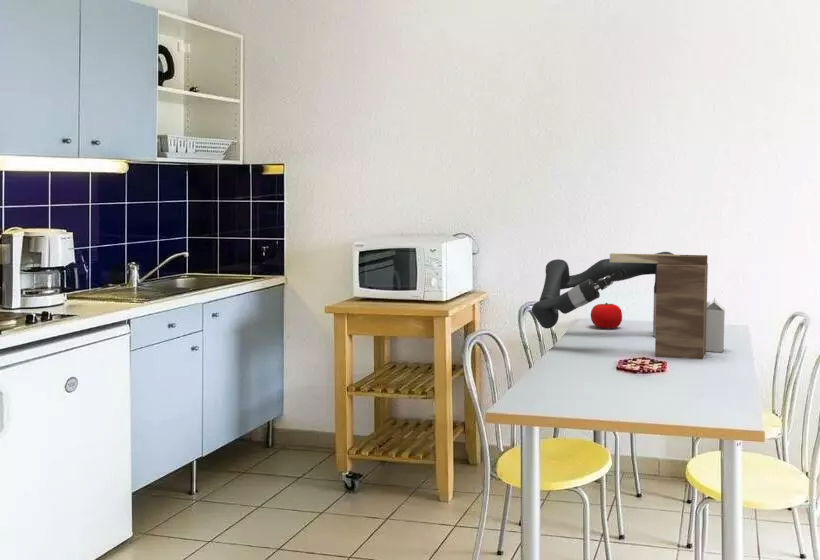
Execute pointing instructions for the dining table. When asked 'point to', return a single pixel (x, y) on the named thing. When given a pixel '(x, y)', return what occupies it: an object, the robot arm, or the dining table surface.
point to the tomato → (606, 315)
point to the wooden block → (636, 258)
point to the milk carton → (715, 327)
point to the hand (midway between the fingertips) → (623, 272)
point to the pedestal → (681, 306)
